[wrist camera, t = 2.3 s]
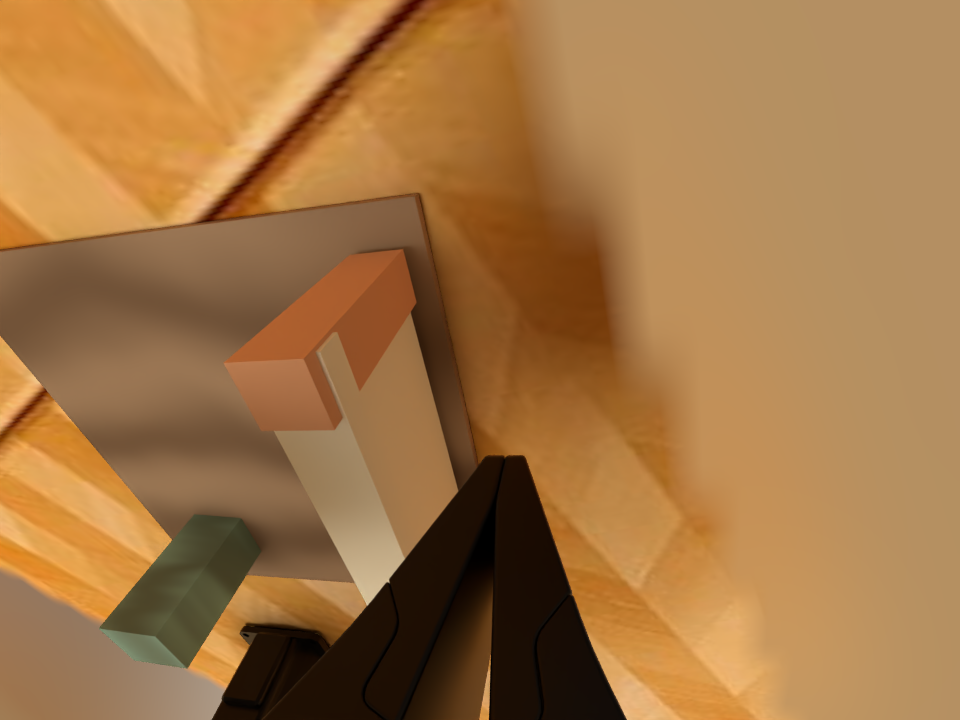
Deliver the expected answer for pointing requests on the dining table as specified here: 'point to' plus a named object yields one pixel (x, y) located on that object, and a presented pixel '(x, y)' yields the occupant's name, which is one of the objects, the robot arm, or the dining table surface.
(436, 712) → the robot arm
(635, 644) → the dining table surface
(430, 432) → the orange and cream block
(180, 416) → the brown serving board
